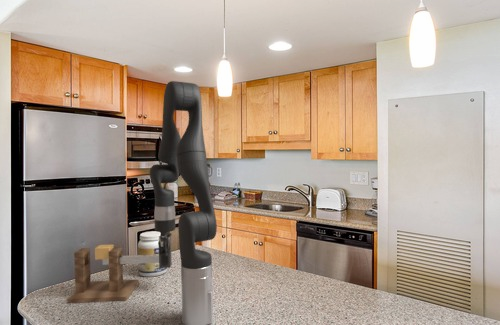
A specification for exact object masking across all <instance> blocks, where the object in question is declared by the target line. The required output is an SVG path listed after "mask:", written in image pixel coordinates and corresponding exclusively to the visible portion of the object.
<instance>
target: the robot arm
mask: <svg viewBox="0 0 500 325" xmlns="http://www.w3.org/2000/svg"><path fill="white" fill-rule="evenodd" d="M164 89H165V90H164V93H163V94H164V95H163V106H162V130H161V138H160V139H161V140H160V144H159V149H158V154H157V155H158V156H157V157H158V160H159V161H160V162H161V163H163V164H161V163H160V164H159V163H158V164H153V165H152V166H151V167H150V169H149V178H150V181H151V185H152V187H153V192H154V231H157V232H160V233H161V234H160V236H159V242H158V245H159V254H160V255H161V265H162V266H165V265H167V264H168V248H169V244H171V245H172V231H175V230H176V207H175V191H174V190H173V189H169V188H164V187H163V186H162V184H172V183H175V182H177V181H178V180H179V177H181V178H182V179H183V181H184V183H186V185H187V186H188V187H189V189H190V190H191V191H192V193H193V195H194V196H195V198H196V202H197V204H198V209H199V210H198V211H197V210H195V211H189V212H188V211H187V212H183V213H181V214H180V215H179V218H178V224H177V225H178V228H177V229H178V240H179V257H180V275H181V276H180V278H181V279H180V280H181V286H180V287H181V322H182V324H183V325H212V324H213V317H214V304H213V303H214V298H213V297H214V296H213V295H214V294H213V293H214V292H213V289H214V288H213V271H212V269H213V268H212V267H213V266H212V265H213V264H212V263H213V262H212V261H213V260H212V255H211V253H210V252H208V251H205V250H203V249H202V250H200V249H197V248H196V244H195V243H201V242H206V241H211V240H213V239H215V238H216V235H217V232H218V230H217V228H218V226H217V218H216V213H215V207H214V204H213V198H212V194H211V188H210V180H209V171H208V160H207V152H206V145H205V138H204V131H203V130H204V129H203V114H202V112H203V111H202V109H203V108H202V94H201V91H200V90H201V89H200V87H199V86H198V84H196V83H193V82H184V81H175V80H171V81H168V83H167V84H166V86H165V88H164ZM175 111H182V112H187V114H188V122H187V127H186V129H185V131H184V132H183V134H182V137H181V135H180V132H179V131H178V128H177V126H176V123H175V120H174V119H175V118H174V117H175ZM166 246H167V247H166ZM163 250H164V251H165V252H163Z"/></svg>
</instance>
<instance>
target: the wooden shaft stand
mask: <svg viewBox="0 0 500 325" xmlns="http://www.w3.org/2000/svg"><path fill="white" fill-rule="evenodd" d="M73 256H74V258H73V259H74V285H75V286H74V292H73V293H72V294H71V295H70V296H69V297H68V298H67V299H66V304H80V303H85V304H86V302H87V303H104V302H105V303H107V302H110V303H111V302H127V301H128V300H129V298H130V296H131V295H132V294H133V293H134V291H135V289H136V288H137V287H138V285H139V283H140V280H139V279H124V266H123V265H124V264H119V256H124V255H123V247H122V246H115V247H114V248H113V249H111V250H110V251H109V265H108V280H93V281H91V248H90V247H82V248H80V249H78V250H76V251H75V252H74V255H73Z"/></svg>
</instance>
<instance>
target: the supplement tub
mask: <svg viewBox="0 0 500 325" xmlns="http://www.w3.org/2000/svg"><path fill="white" fill-rule="evenodd" d="M160 234H161V233H160V232H157V231H155V230H154V231H153V230H152V231H145V232H142V233H140V235H139V241H138V244H137V255H159V245H158V242H159V236H160ZM137 265H138V266H137V267H138V268H137V269H138V270H137V271H138V274H139V275H140V276H141V277H146V278H147V277H150V278H151V277H158V276H162V275H163V274H165V273H166V272H167V271H168V268H159V263H140V264H137Z"/></svg>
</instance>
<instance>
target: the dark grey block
mask: <svg viewBox="0 0 500 325" xmlns="http://www.w3.org/2000/svg"><path fill="white" fill-rule="evenodd" d="M166 247H167V246H166ZM163 252H165V251H164V250H163ZM101 261H102V265H103V266H107V265H108V266H109V259H101ZM140 263H159V268H167V269H168V268H169V269H170V268H171V267H172V243H171V244H169V248H168V264H167V265H165V266H162V265H161V255H160V254H159V255H138V254H136V255H135V254H134V255H131V254H130V255H123V256H119V264H123V265H134V264H135V265H136V264H137V265H138V264H140Z"/></svg>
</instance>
